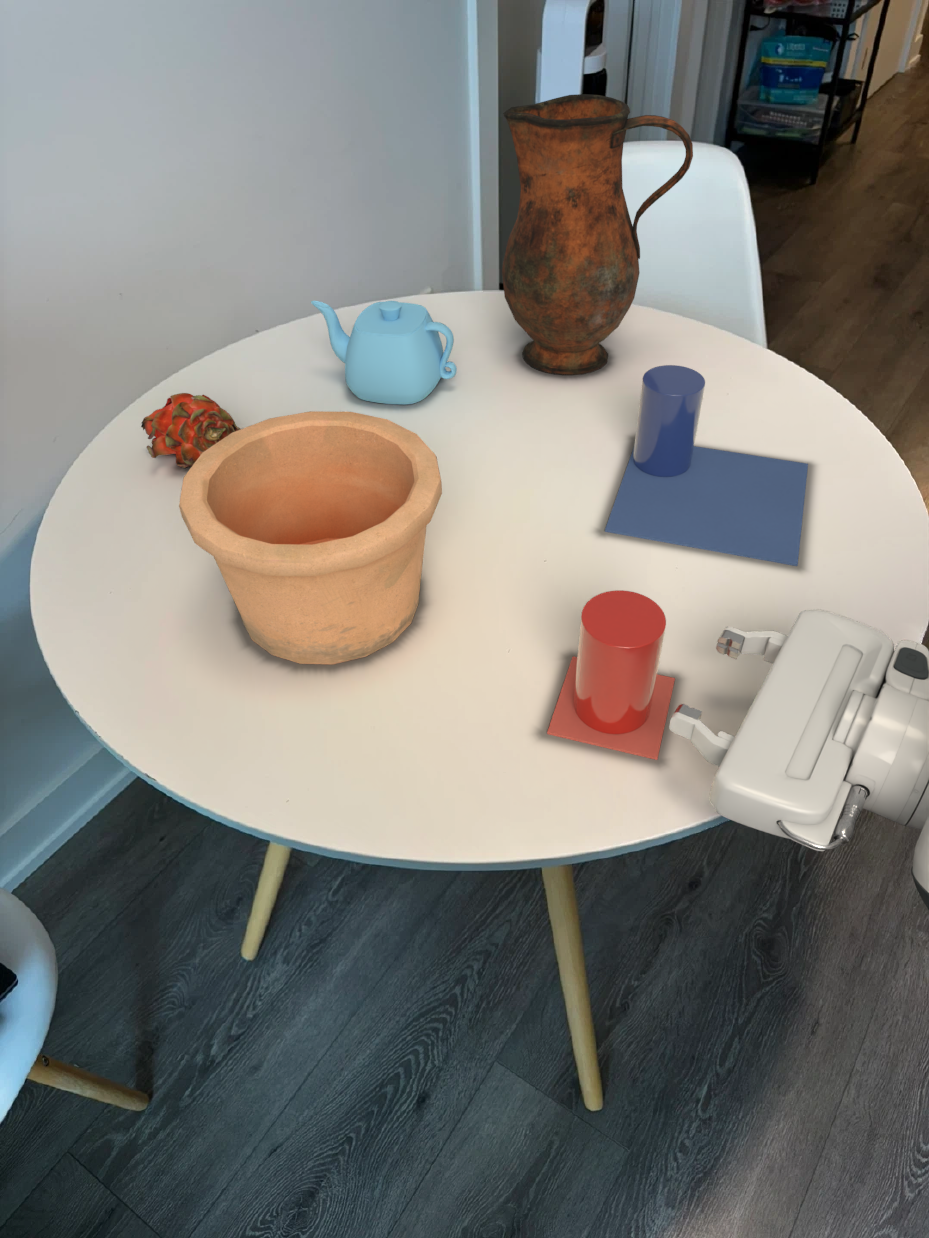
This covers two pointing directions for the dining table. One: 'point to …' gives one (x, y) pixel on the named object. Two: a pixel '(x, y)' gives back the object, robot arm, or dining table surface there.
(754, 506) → the blue mat
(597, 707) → the red canister
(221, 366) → the dining table surface
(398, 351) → the teapot
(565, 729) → the red mat
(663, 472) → the blue canister
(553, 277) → the pitcher
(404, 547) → the pottery
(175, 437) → the dragon fruit
